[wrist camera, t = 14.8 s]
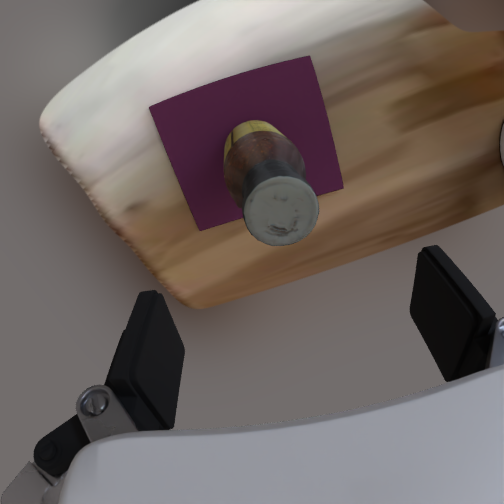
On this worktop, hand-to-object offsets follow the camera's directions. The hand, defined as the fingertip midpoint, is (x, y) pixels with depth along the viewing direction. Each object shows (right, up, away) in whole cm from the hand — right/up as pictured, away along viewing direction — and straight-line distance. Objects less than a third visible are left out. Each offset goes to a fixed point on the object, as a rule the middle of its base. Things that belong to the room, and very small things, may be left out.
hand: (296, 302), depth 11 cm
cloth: (-2, +13, +23) cm, 27 cm away
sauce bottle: (-1, +13, +23) cm, 27 cm away
